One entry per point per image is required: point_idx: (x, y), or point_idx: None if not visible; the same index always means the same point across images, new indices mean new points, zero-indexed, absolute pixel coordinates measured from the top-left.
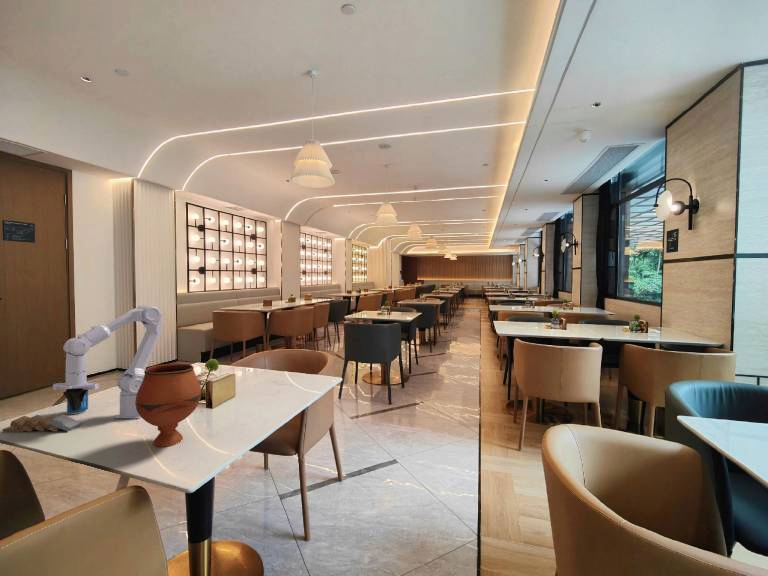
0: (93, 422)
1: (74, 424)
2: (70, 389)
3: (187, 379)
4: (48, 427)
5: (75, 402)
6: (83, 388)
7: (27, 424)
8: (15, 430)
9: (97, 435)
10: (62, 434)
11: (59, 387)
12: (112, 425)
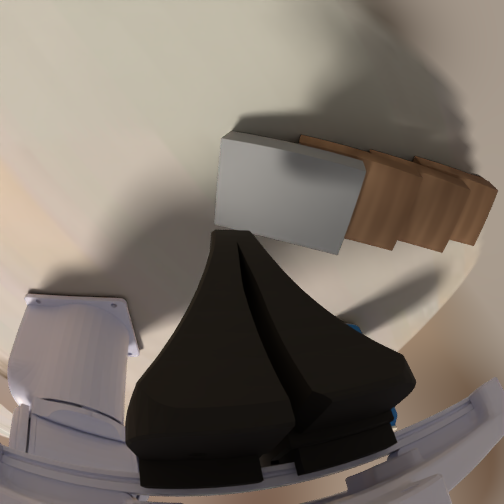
0: (186, 258)
1: (225, 184)
2: (342, 451)
3: None
4: (355, 151)
5: (205, 280)
6: (134, 487)
7: (448, 176)
8: None
9: (21, 93)
10: (239, 92)
11: (462, 420)
12: (56, 224)
